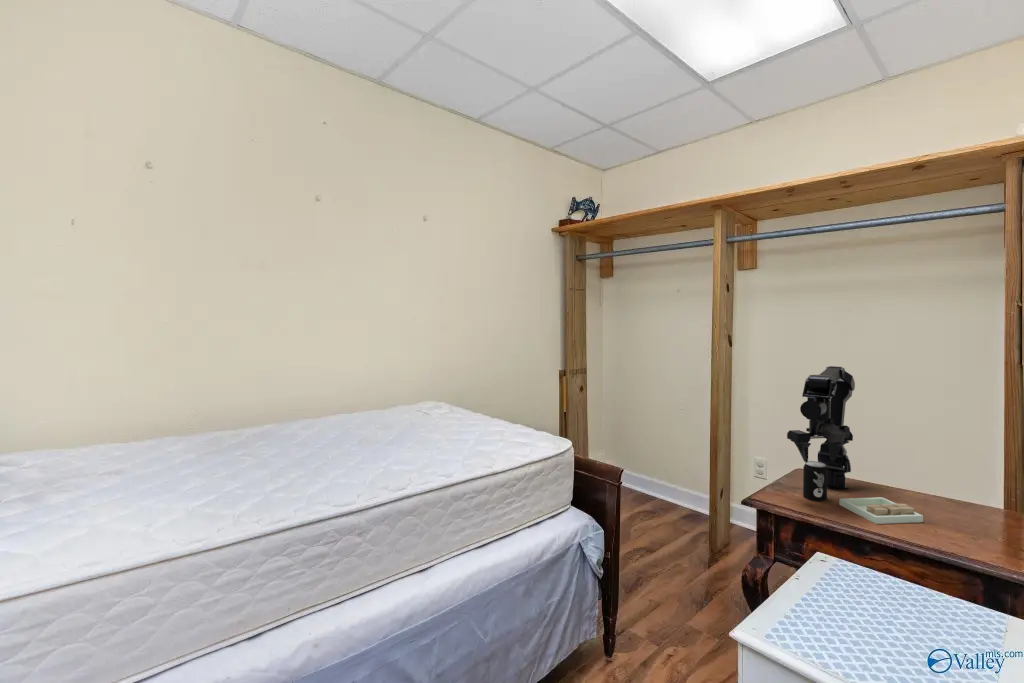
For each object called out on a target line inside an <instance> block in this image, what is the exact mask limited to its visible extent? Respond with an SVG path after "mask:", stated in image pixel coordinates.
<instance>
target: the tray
mask: <svg viewBox="0 0 1024 683" xmlns="http://www.w3.org/2000/svg"><path fill="white" fill-rule="evenodd" d="M883 504H891V505H893V504H897V503H896V502H894V501H891V500H889V499H887V498H885V497H881V496H877V497H854V498H853V497H850V498H839V506H841V507H842V508H845V509H846V510H849V511H850V512H852V513H854V514H856V515H858V516H860V517H861V518H864V519H865V520H867V521H869V522H871V523H873V524H875V525H881V524H883V525H887V524H889V525H890V524H913V523H915V524H917V523H918V524H919V523H924V515H923V514H920V513H918V512H916V511H914V514H913V515H885V516H876V515H874V514H872V513H870V512H868V511H866V505H883Z"/></svg>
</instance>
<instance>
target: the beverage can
mask: <svg viewBox="0 0 1024 683" xmlns="http://www.w3.org/2000/svg"><path fill="white" fill-rule="evenodd" d="M825 466H826V465H825V464H824V463H821V462H818V461H813V460H808V462H804V465H803V469H802V470H803V472H802V473H803V474H802V475H803V476H802V478H803V479H802V480H803V482H802V483H803V486H802V496H803V498H805V499H807V500H808V501H809V500H810V501H813V502H825V501H827V500H828V487H827V468H826V467H825Z"/></svg>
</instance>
